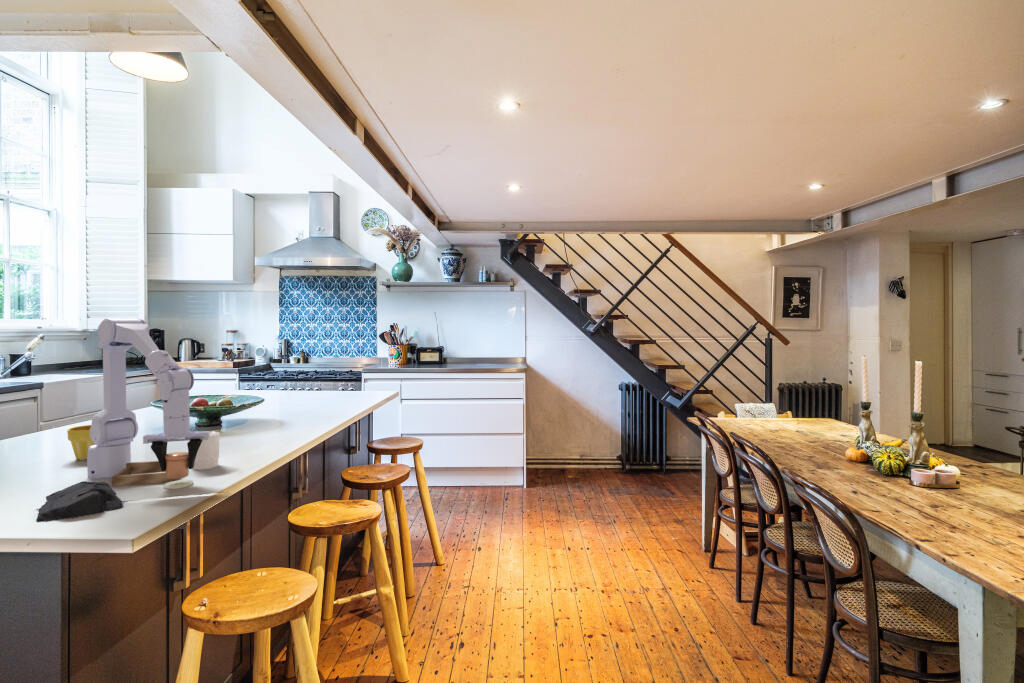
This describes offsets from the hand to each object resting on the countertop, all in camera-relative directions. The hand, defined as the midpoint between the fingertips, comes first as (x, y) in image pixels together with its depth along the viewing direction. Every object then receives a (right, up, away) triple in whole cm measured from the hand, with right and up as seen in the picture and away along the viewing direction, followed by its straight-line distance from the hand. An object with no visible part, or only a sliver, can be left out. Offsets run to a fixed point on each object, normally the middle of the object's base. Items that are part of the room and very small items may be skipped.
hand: (177, 469), depth 141 cm
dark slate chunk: (-15, -6, -13) cm, 20 cm away
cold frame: (-12, -5, +7) cm, 14 cm away
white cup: (-4, -4, +19) cm, 20 cm away
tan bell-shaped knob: (0, -2, 0) cm, 2 cm away
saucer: (0, -5, 0) cm, 5 cm away
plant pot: (-48, -4, +33) cm, 59 cm away
